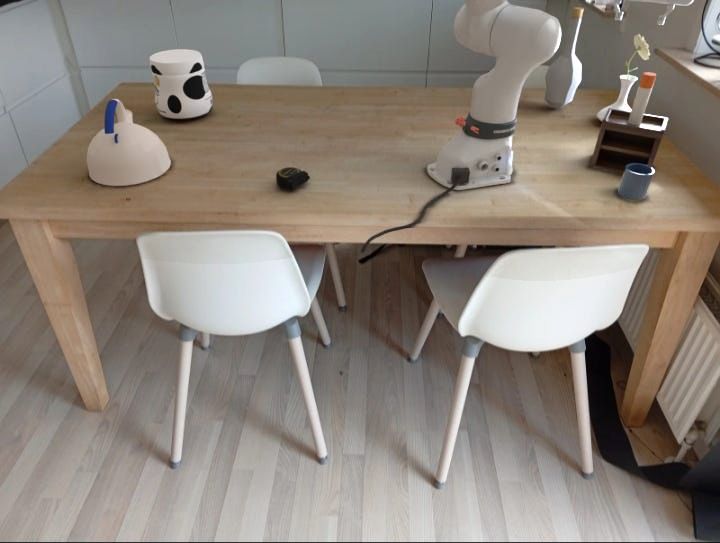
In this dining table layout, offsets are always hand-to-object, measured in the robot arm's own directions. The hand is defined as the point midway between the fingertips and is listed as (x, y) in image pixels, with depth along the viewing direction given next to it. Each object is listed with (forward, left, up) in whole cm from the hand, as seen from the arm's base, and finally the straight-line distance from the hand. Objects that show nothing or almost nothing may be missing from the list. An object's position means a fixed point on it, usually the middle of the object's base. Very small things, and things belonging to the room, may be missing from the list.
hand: (638, 22), depth 130 cm
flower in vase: (+20, +13, -33) cm, 41 cm away
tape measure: (-84, +20, -33) cm, 92 cm away
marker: (-4, -10, -21) cm, 24 cm away
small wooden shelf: (-4, -10, -33) cm, 35 cm away
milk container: (-96, +81, -33) cm, 130 cm away
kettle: (-118, +49, -33) cm, 132 cm away
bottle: (+12, +30, -33) cm, 46 cm away
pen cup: (-14, -22, -33) cm, 42 cm away
